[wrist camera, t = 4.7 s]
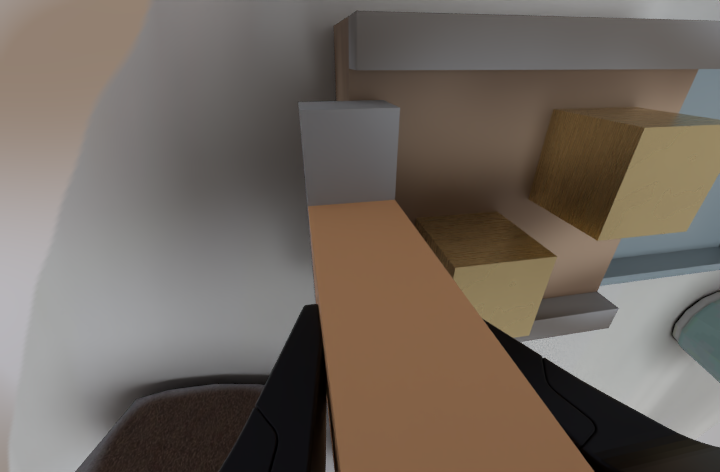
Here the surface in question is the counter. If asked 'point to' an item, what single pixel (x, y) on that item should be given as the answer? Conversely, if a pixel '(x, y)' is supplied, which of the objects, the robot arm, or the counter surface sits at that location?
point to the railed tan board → (513, 116)
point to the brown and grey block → (405, 323)
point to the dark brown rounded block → (176, 430)
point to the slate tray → (706, 232)
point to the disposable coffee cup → (702, 333)
